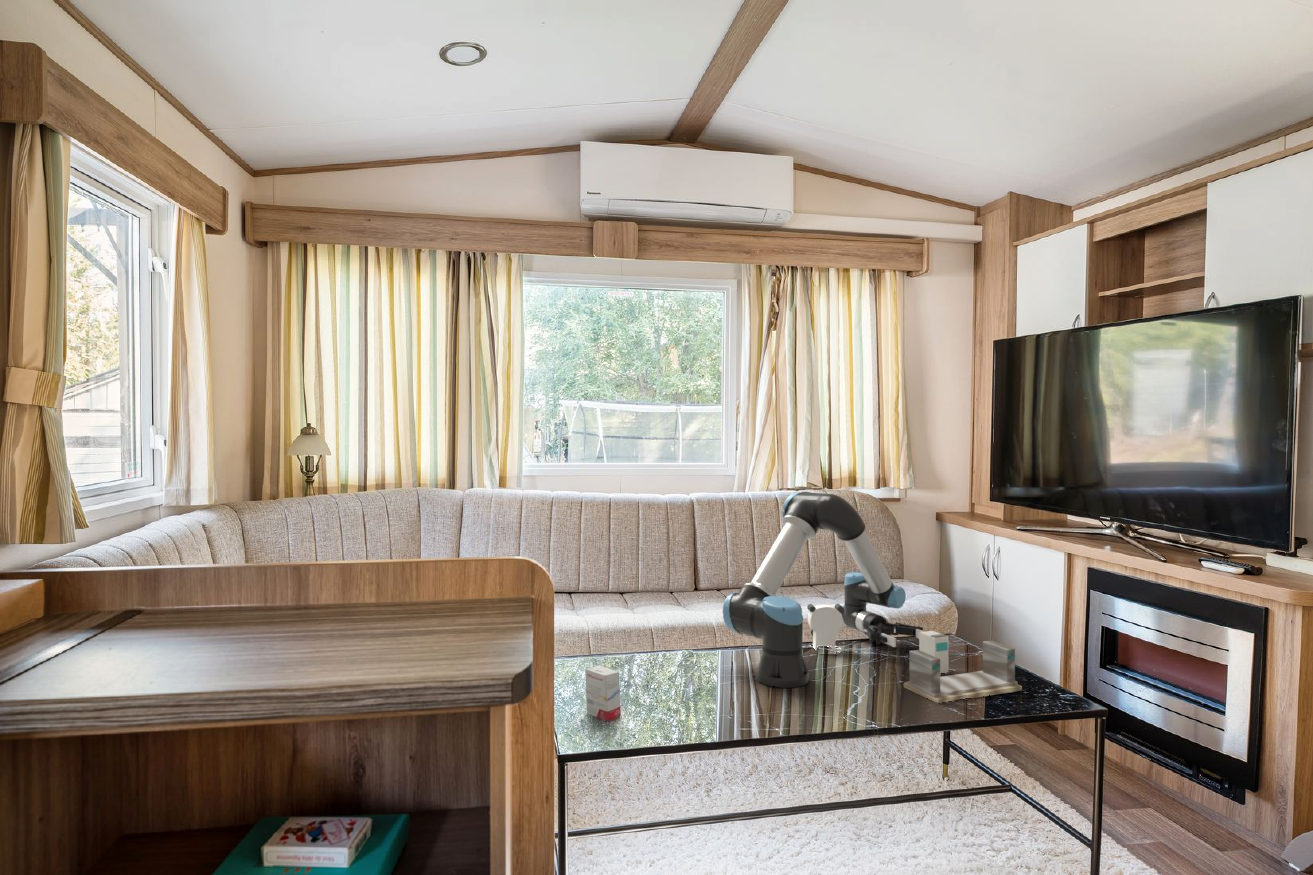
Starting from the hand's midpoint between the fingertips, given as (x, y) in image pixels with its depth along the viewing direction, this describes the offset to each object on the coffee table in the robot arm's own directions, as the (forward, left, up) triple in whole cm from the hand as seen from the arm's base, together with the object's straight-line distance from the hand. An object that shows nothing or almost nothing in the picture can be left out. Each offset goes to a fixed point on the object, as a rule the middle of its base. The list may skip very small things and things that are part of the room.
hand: (913, 640), depth 239 cm
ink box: (-104, -9, -7) cm, 105 cm away
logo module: (0, -10, -7) cm, 12 cm away
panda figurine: (-19, +20, -7) cm, 29 cm away
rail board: (-4, -26, -6) cm, 27 cm away
